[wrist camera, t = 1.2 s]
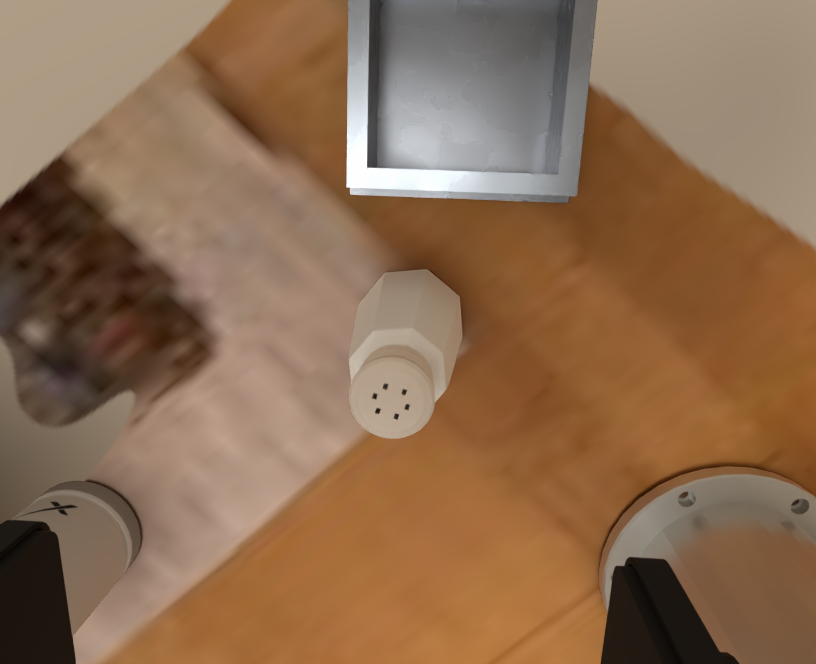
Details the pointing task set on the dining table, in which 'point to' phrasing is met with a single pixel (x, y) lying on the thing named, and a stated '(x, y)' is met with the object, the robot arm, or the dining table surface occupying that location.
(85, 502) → the travel mug
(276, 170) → the dining table surface
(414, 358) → the pepper shaker
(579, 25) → the grey square tray
